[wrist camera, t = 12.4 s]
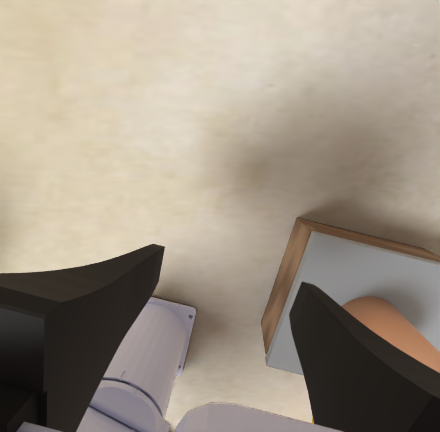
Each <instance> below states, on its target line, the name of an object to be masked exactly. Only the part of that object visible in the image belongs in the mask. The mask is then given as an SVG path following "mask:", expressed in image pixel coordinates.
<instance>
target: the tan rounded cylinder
mask: <svg viewBox="0 0 440 432" xmlns="http://www.w3.org/2000/svg"><path fill="white" fill-rule="evenodd" d="M341 307H343V308H344V309H345V310H346V311H347V312H349V313H350V314H351V315H352V316H354V317H355V318H356V319H357V320H359V321H360V322H361V323H363V324H364V325H365V326H366V327H368V328H369V329H370V330H372V331H373V332H375V333H376V334H377V335H379V336H380V337H382V338H383V339H385V340H386V341H388V342H389V343H391V344H392V345H394V346H395V347H397V348H398V349H400V350H401V351H403V352H405V353H406V354H408V355H410V356H411V357H413V358H415V359H416V360H418V361H420V362H421V363H423V364H425V365H426V366H428V367H430V368H432V369H434V370H435V371H437V372H439V373H440V352H439V351H438V350H437V349H436V348H435V347H434V346H433V345H432V344H431V343H430V342H429V341H428V340H427V339H426V338H425V337H424V336H423V335H422V334H421V333H420V332H419V331H418V330H417V329H416V328H415V327H414V326H413V325H412V324H411V323H410V322H409V321H408V320H407V319H406V318H405V317H404V316H403V315H402V314H401V313H400V312H399V311H398V310H397V309H396V308H395V307H394V306H393V305H392V304H391V303H389V302H388V301H386V300H384V299H381V298H377V297H360V298H356V299H353V300H350V301H348V302H347V303H345V304H344V305H342V306H341Z"/></svg>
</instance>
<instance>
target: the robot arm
mask: <svg viewBox="0 0 440 432" xmlns="http://www.w3.org/2000/svg"><path fill="white" fill-rule="evenodd" d="M164 248H165V247H164V246H160V245H156V244H151V245H148V246H146V247H143V248H140V249H138V250H135V251H133V252H130V253H127V254H125V255H122V256H119V257H116V258H112V259H109V260H106V261H103V262H99V263H95V264H90V265H86V266H81V267H74V268H68V269H62V270H54V271H44V272H31V273H0V432H169V429H170V423H169V422H167V421H166V420H165V419H164V418H165V414H166V411H167V407H168V403H169V400H170V396H171V392H172V389H173V385H174V381H175V378H176V376H180V375H181V374H182V370H183V366H184V361H185V357H186V353H187V349H188V345H189V341H190V336H191V332H192V328H193V324H194V320H195V316H196V309H195V308H194V307H190V306H186V305H182V304H178V303H174V302H170V301H166V300H162V299H158V298H154V297H151V296H152V294H153V292H154V290H155V288H156V285H157V283H158V281H159V276H160V271H161V265H162V260H163V254H164ZM189 315H192V317H191V316H189ZM289 318H290V326H291V332H292V336H293V340H294V343H295V347H296V350H297V354H298V357H299V360H300V364H301V367H302V371H303V374H304V377H305V381H306V385H307V389H308V394H309V399H310V404H311V410H312V415H313V421H314V424H312V423H308V422H304V421H300V420H297V419H293V418H289V417H285V416H281V415H277V414H273V413H269V412H265V411H262V410H258V409H254V408H250V407H246V406H242V405H238V404H233V403H217V402H210V403H208V404H205V405H202V406H200V407H197V408H194V409H192V410H190V411H188V412H187V413H186V415H185V416H184V417H183V419H182V420H181V421H180V423H179V424H178V425H177V427H176V430H175V432H440V373H439V372H437V371H435V370H434V369H432V368H430V367H428V366H426V365H425V364H423V363H421V362H420V361H418V360H416V359H415V358H413V357H411V356H410V355H408V354H406V353H405V352H403V351H401V350H400V349H398V348H397V347H395V346H394V345H392V344H391V343H389V342H388V341H386V340H385V339H383V338H382V337H380V336H379V335H377V334H376V333H375V332H373V331H372V330H370V329H369V328H368V327H366V326H365V325H364V324H363V323H361V322H360V321H359V320H357V319H356V318H355V317H354V316H352V315H351V314H350V313H349V312H347V311H346V310H345V309H344V308H343V307H341V306H340V305H339V304H338V303H337V302H335V301H334V300H333V299H332V298H331V297H330V296H328V295H327V294H326V293H325V292H323V291H322V290H321V289H320V288H318V287H317V286H315V285H314V284H310V283H306V282H301V285H300V287H299V290H298V292H297V295H296V298H295V300H294V303H293V305H292V308H291V310H290V313H289Z"/></svg>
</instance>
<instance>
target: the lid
mask: <svg viewBox="0 0 440 432" xmlns="http://www.w3.org/2000/svg"><path fill="white" fill-rule="evenodd" d="M301 282H306V283H310V284H314V285H315V286H317V287H318V288H320V289H321V290H322V291H323V292H325V293H326V294H327V295H328V296H330V297H331V298H332V299H333V300H334V301H335V302H337V303H338V304H339V305H340V306H342V305H344V304H345V303H347V302H348V301H350V300H353V299H356V298H360V297H377V298H381V299H384V300H386V301H388V302H389V303H391V304H392V305H393V306H394V307H395V308H396V309H397V310H398V311H399V312H400V313H401V314H402V315H403V316H404V317H405V318H406V319H407V320H408V321H409V322H410V323H411V324H412V325H413V326H414V327H415V328H416V329H417V330H418V331H419V332H420V333H421V334H422V335H423V336H424V337H425V338H426V339H427V340H428V341H429V342H430V343H431V344H432V345H433V346H434V347H435V348H436V349H437V350H438V351H439V352H440V262H436V261H432V260H428V259H424V258H420V257H416V256H412V255H408V254H404V253H400V252H396V251H392V250H388V249H384V248H379V247H375V246H371V245H367V244H363V243H359V242H355V241H351V240H347V239H343V238H339V237H335V236H331V235H327V234H323V233H319V232H315V231H312V232H311V235H310V238H309V240H308V243H307V246H306V248H305V251H304V254H303V257H302V259H301V262H300V265H299V267H298V270H297V273H296V276H295V278H294V281H293V284H292V286H291V289H290V292H289V295H288V297H287V300H286V303H285V306H284V308H283V311H282V314H281V316H280V319H279V322H278V325H277V327H276V330H275V333H274V335H273V338H272V341H271V344H270V346H269V349H268V352H267V355H266V357H265V359H266V366H269V367H273V368H277V369H281V370H285V371H288V372H292V373H296V374H300V375H304V374H303V371H302V367H301V364H300V360H299V357H298V354H297V350H296V347H295V343H294V340H293V336H292V332H291V326H290V318H289V313H290V310H291V308H292V305H293V303H294V300H295V298H296V295H297V292H298V290H299V287H300V285H301Z"/></svg>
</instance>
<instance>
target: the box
mask: <svg viewBox="0 0 440 432" xmlns="http://www.w3.org/2000/svg"><path fill="white" fill-rule="evenodd" d="M312 231H315V232H319V233H323V234H327V235H331V236H335V237H339V238H343V239H347V240H351V241H355V242H359V243H363V244H367V245H371V246H375V247H379V248H384V249H388V250H392V251H396V252H400V253H404V254H408V255H412V256H416V257H420V258H424V259H428V260H432V261H436V262H440V257H439V256H437V255H435V254H433V253H431V252H429V251H427V250H425V249H423V248H419V247H415V246H411V245H407V244H403V243H398V242H394V241H390V240H386V239H382V238H378V237H374V236H370V235H365V234H361V233H357V232H353V231H349V230H345V229H341V228H337V227H333V226H328V225H324V224H320V223H316V222H312V221H308V220H304V219H300V218H297V219H296V222H295V225H294V227H293V230H292V233H291V236H290V239H289V242H288V245H287V248H286V251H285V254H284V257H283V260H282V263H281V266H280V268H279V271H278V274H277V277H276V280H275V283H274V286H273V289H272V292H271V295H270V298H269V301H268V304H267V307H266V309H265V312H264V315H263V318H262V321H261V325H262V332H263V339H264V346H265V353H266V354H267V352H268V349H269V346H270V344H271V341H272V338H273V335H274V333H275V330H276V327H277V325H278V322H279V319H280V316H281V314H282V311H283V308H284V306H285V303H286V300H287V297H288V295H289V292H290V289H291V286H292V284H293V281H294V278H295V276H296V273H297V270H298V267H299V265H300V262H301V259H302V257H303V254H304V251H305V248H306V246H307V243H308V240H309V238H310V235H311V232H312Z"/></svg>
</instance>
